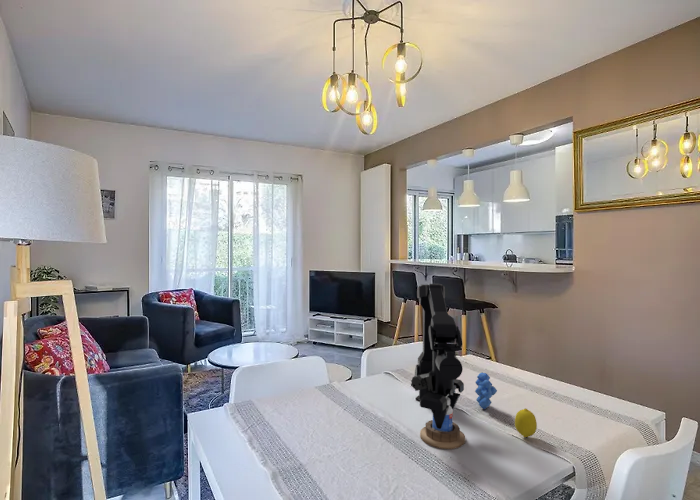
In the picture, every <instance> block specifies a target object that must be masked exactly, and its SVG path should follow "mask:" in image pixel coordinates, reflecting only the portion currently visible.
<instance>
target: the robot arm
mask: <svg viewBox="0 0 700 500" xmlns="http://www.w3.org/2000/svg"><path fill="white" fill-rule="evenodd" d="M416 297H417V299H418V302H419V304H420V306H421V308H422V310H423V313H422V315H423V316H422V317H423V318H422V351H421V353H420V355H419V356H418V358H417V364H416V365H415V369H414V376H412V379H411V380H410V382H411V383H410V386H411V388H413V389H414V391H417V392H418V395H417V396H416V397H415V398H414V399H415V400H416V401H419V407H420V408H422V409H423V408H424V409H428V410H430V411H431V413H432V417H433V416H434V420H435V423H436V427H437V428H439V429H441V427H442V425H443V422H444V419H445V417H446V414H447V411H448V409H449V406H451V407H452V409H453V410H454V409H455V407H456V405H457V403H458V400H459V399H460V396H461V394H460V393H462V392H463V391H464V390H465V387H464V386H465V383H464V382H463V381H462V380H461V379H458V378H460V376H461V375H462V373H463V364H462V362H461V361H460V360H459V358H458V357H457V355H456V352H457V351H462V347H463V339H462V334H461V331H460V327H459V326H457V324H456V321H455V319H454V317H453V316H451V315H450V314H449V312H448V309H447V305H446V300H445V298H446V289H445V285H443V284H441V283H427V284H420V286H418V287H417V289H416ZM456 390H457V391H458V392H456ZM446 397H448V398H450V405H447V399H446Z"/></svg>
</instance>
